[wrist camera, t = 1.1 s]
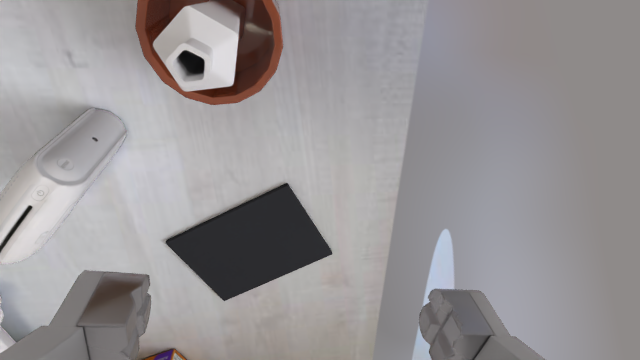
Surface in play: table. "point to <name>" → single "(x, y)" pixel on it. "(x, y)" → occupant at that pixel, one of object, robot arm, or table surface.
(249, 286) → the mat
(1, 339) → the bone shaped toy
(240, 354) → the table surface
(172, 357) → the game box
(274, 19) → the desk pot
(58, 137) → the photo printer
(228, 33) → the white pentagonal vase
